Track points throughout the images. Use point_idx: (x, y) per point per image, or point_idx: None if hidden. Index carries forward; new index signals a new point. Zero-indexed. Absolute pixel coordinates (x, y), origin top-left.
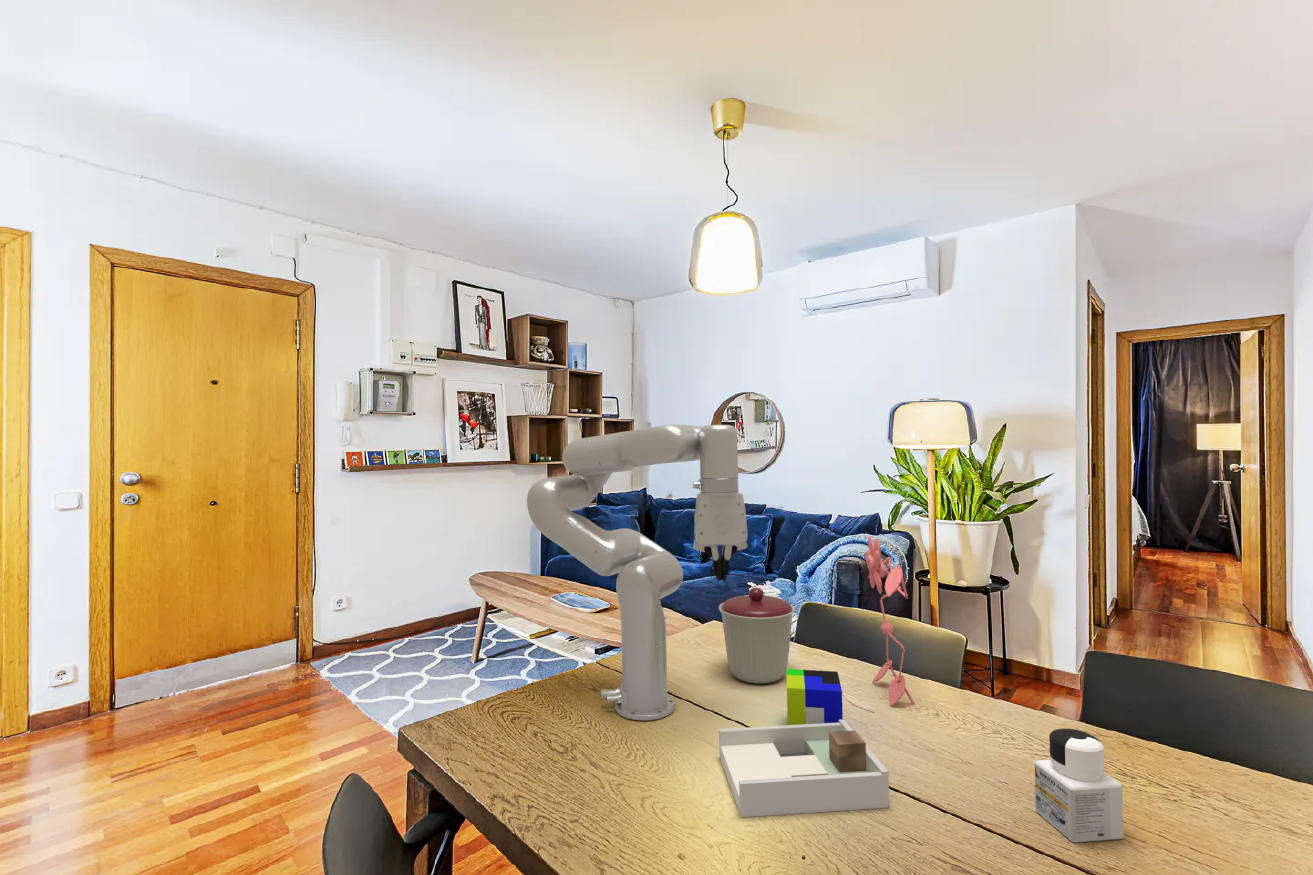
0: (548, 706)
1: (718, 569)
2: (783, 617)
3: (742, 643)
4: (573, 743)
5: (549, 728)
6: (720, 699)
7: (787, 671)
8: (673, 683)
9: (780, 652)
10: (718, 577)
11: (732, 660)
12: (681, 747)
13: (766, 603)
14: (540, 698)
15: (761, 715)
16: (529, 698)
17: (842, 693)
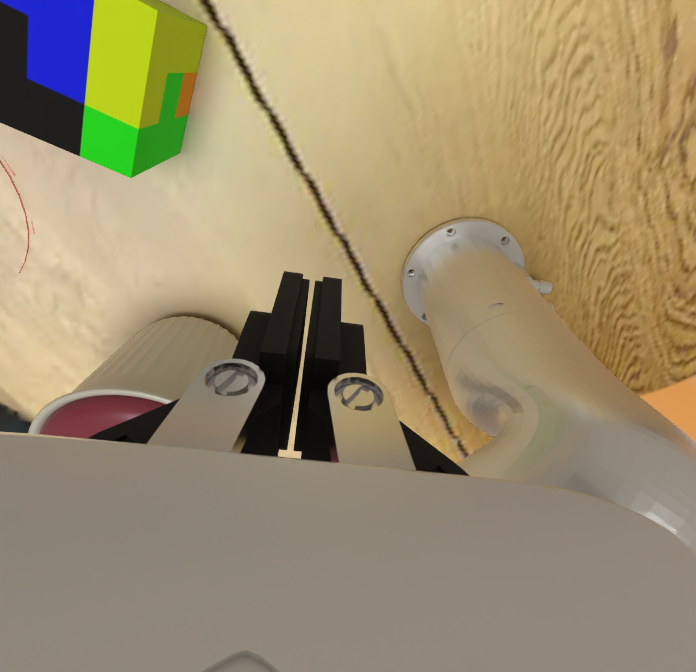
0: (623, 327)
1: (339, 314)
2: (71, 392)
3: None
4: (658, 160)
5: (666, 239)
6: None
7: (131, 155)
8: (369, 362)
9: (129, 345)
10: (341, 285)
11: None
12: (459, 69)
13: None
14: (620, 360)
15: (236, 179)
16: (638, 365)
17: (28, 236)
